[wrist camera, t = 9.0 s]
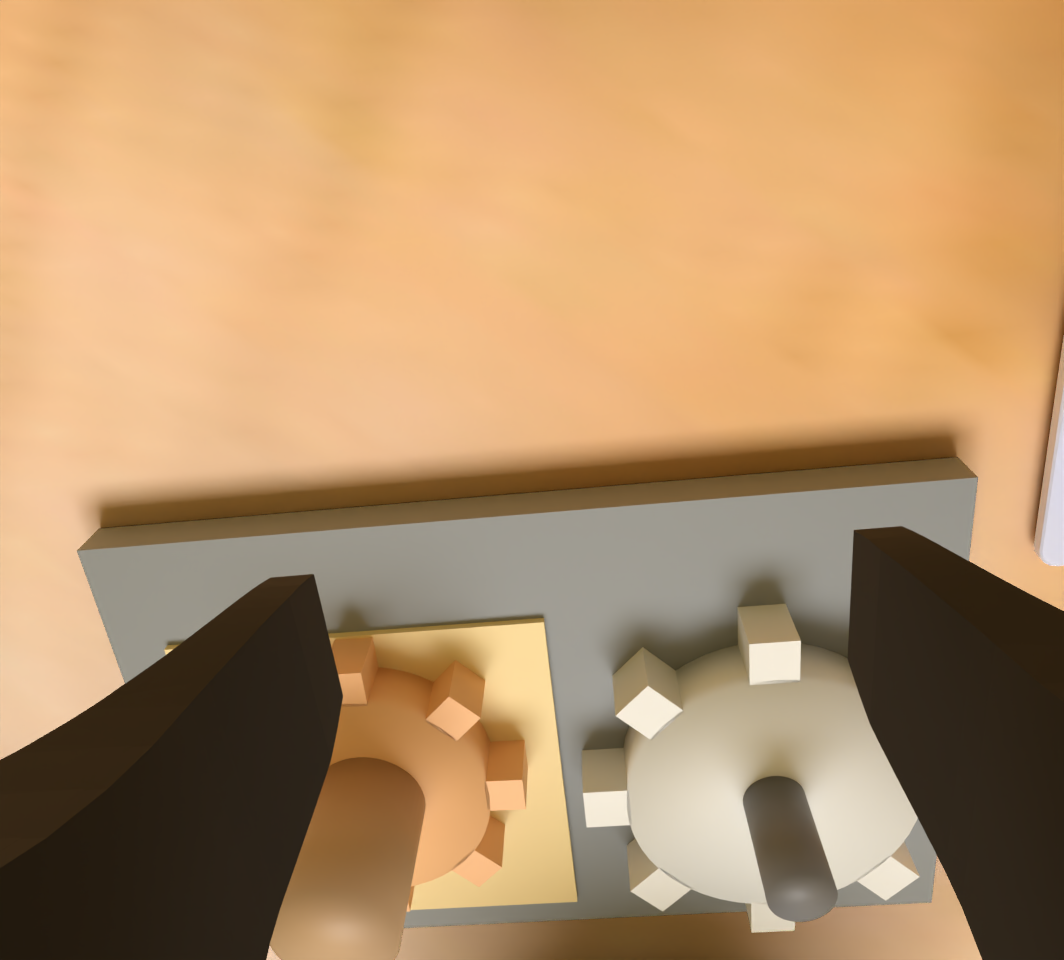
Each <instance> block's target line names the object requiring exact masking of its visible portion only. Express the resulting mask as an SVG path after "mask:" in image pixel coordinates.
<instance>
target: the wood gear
mask: <svg viewBox="0 0 1064 960" xmlns="http://www.w3.org/2000/svg"><path fill="white" fill-rule="evenodd" d="M332 651H333V655H334V659H335V664H336V668H337V672H338V676H339V680H340V684H341V689H342V693H343V700H342V706H341V711H340V717H339V723H338V729H337V734H336V739H335V744H334V748H333V753H332V758H331V762H330V765H329V768H328V771H327V774H326V778H325V781H324V783H323V786H322V789H321V792H320V795H319V798H318V801H317V804H316V807H315V810H314V813H313V816H312V819H311V822H310V825H309V827H308V830H307V833H306V836H305V839H304V842H303V845H302V848H301V850H300V853H299V856H298V859H297V862H296V865H295V868H294V871H293V873H292V876H291V879H290V882H289V885H288V888H287V891H286V894H285V896H284V899H283V902H282V905H281V908H280V911H279V915H278V918H277V921H276V925H275V928H274V931H273V935H272V938H271V941H270V946H271V948H272V950H273V951H274V952H275V954H276V955H277V956H278V957H279V958H280V959H281V960H394V959H395V958H396V956H397V954H398V952H399V948H400V944H401V939H402V933H403V928H404V922H405V917H406V912H410V909H411V904H412V898H413V893H414V887H415V885H419V884H422V883H426V882H429V881H432V880H434V879H436V878H439V877H441V876H443V875H445V874H447V873H448V872H450V871H454V872H455V873H457V874H459V875H460V876H462V877H463V878H465V879H467V880H468V881H470V882H472V883H473V884H475V885H476V886H478V887H480V886H481V885H482V884H483V883H485V882H486V881H487V880H488V879H489V878H490V877H491V876H493V875H494V874H495V873H496V872H497V871H498V870H500V869H501V868H502V861H503V847H504V834H505V825H504V824H503V823H501V822H500V821H498V820H497V819H495V818H493V817H492V816H490V811H497V810H519V809H526V797H527V777H528V765H527V756H526V748H525V740H515V741H495V742H490V740H489V738H488V735H487V733H486V731H485V729H484V727H483V726H482V724H481V722H480V721H479V719H480V718H481V712H482V704H483V696H484V688H485V680H484V679H483V678H481V677H480V676H478V675H477V674H475V673H474V672H472V671H471V670H470V669H468V668H467V667H465V666H464V665H462V664H461V663H459V662H458V661H456V660H455V661H454V662H453V663H452V664H451V665H450V666H449V667H448V668H447V669H446V670H445V671H444V672H443V673H442V674H441V675H440V676H439V677H438V678H437V679H436V680H435V681H434V682H432V681H430V680H428V679H425V678H423V677H421V676H418V675H415V674H411V673H408V672H405V671H400V670H395V669H390V668H381V667H378V662H377V657H376V652H375V646H374V641H373V637H370V638H352V639H335V640H334V642H333V645H332Z"/></svg>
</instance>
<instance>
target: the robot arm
mask: <svg viewBox="0 0 1064 960" xmlns="http://www.w3.org/2000/svg"><path fill="white" fill-rule="evenodd" d="M1034 551H1035V553H1036V554H1037V556H1038V557H1039V558H1040V559H1041V560H1042V561H1043V562H1044V563H1046V564H1048V565H1051V566H1064V337H1063V344H1062V351H1061V358H1060V365H1059V372H1058V379H1057V386H1056V393H1055V400H1054V407H1053V414H1052V421H1051V428H1050V435H1049V442H1048V449H1047V456H1046V463H1045V470H1044V477H1043V484H1042V491H1041V498H1040V505H1039V512H1038V519H1037V526H1036V533H1035V540H1034ZM848 662H849V665H850V668H851V671H852V674H853V677H854V681H855V684H856V687H857V690H858V693H859V696H860V698H861V701H862V704H863V707H864V709H865V712H866V715H867V718H868V720H869V723H870V725H871V727H872V729H873V732H874V734H875V736H876V738H877V740H878V742H879V744H880V746H881V748H882V750H883V751H884V753H885V755H886V757H887V759H888V761H889V763H890V765H891V767H892V769H893V771H894V773H895V775H896V777H897V779H898V781H899V783H900V785H901V787H902V789H903V791H904V792H905V794H906V796H907V798H908V800H909V802H910V804H911V806H912V808H913V810H914V812H915V814H916V816H917V818H918V819H919V821H920V823H921V825H922V827H923V829H924V831H925V833H926V835H927V837H928V839H929V841H930V843H931V845H932V846H933V848H934V850H935V852H936V854H937V856H938V858H939V860H940V862H941V864H942V866H943V868H944V870H945V872H946V874H947V876H948V878H949V880H950V882H951V885H952V887H953V889H954V891H955V893H956V895H957V898H958V900H959V902H960V904H961V906H962V909H963V911H964V914H965V916H966V919H967V921H968V924H969V926H970V929H971V932H972V934H973V937H974V939H975V942H976V944H977V947H978V949H979V952H980V955H981V957H982V960H1064V611H1062V610H1060V609H1058V608H1056V607H1054V606H1052V605H1050V604H1048V603H1046V602H1044V601H1042V600H1040V599H1038V598H1036V597H1034V596H1032V595H1030V594H1029V593H1027V592H1025V591H1023V590H1021V589H1019V588H1017V587H1015V586H1013V585H1012V584H1010V583H1008V582H1006V581H1004V580H1002V579H1000V578H999V577H997V576H995V575H993V574H991V573H989V572H988V571H986V570H984V569H982V568H980V567H978V566H977V565H975V564H973V563H971V562H970V561H968V560H966V559H964V558H962V557H961V556H959V555H957V554H955V553H953V552H952V551H950V550H948V549H946V548H944V547H943V546H941V545H939V544H937V543H935V542H933V541H931V540H930V539H928V538H926V537H924V536H922V535H920V534H918V533H916V532H914V531H912V530H910V529H907V528H905V527H903V526H896V527H883V528H871V529H859V530H854V534H853V555H852V575H851V596H850V617H849V638H848ZM342 700H343V693H342V689H341V684H340V680H339V676H338V672H337V668H336V664H335V659H334V655H333V651H332V647H331V643H330V639H329V635H328V630H327V626H326V622H325V618H324V614H323V610H322V605H321V601H320V597H319V593H318V589H317V585H316V581H315V576H314V574H307V575H295V576H283V577H271V578H269V579H267V580H266V581H264V582H262V583H261V584H259V585H258V586H256V587H255V588H253V589H252V590H250V591H249V592H248V593H246V594H245V595H244V596H242V597H241V598H240V599H238V600H237V601H236V602H234V603H233V604H232V605H230V606H229V607H228V608H226V609H225V610H224V611H223V612H221V613H220V614H219V615H217V616H216V617H215V618H214V619H212V620H211V621H210V622H208V623H207V624H206V625H204V626H203V627H202V628H201V629H199V630H198V631H197V632H195V633H194V634H193V635H191V636H190V637H189V638H187V639H186V640H185V641H184V642H182V643H181V644H180V645H178V646H177V647H176V648H174V649H173V650H172V651H170V652H169V653H168V654H166V655H165V656H164V657H162V658H161V659H160V660H158V661H157V662H155V663H154V664H152V665H151V666H150V667H148V668H147V669H145V670H144V671H143V672H141V673H140V674H138V675H137V676H135V677H134V678H133V679H131V680H130V681H128V682H127V683H126V684H124V685H123V686H121V687H120V688H118V689H117V690H116V691H114V692H113V693H111V694H110V695H108V696H107V697H106V698H104V699H103V700H101V701H100V702H98V703H97V704H95V705H94V706H92V707H90V708H89V709H87V710H86V711H84V712H83V713H81V714H79V715H78V716H76V717H75V718H73V719H71V720H70V721H68V722H67V723H65V724H63V725H62V726H60V727H58V728H56V729H55V730H53V731H51V732H50V733H48V734H46V735H44V736H43V737H41V738H39V739H38V740H36V741H34V742H33V743H31V744H29V745H27V746H26V747H24V748H22V749H20V750H18V751H17V752H15V753H13V754H11V755H9V756H7V757H5V758H3V759H1V760H0V960H266V958H267V953H268V949H269V945H270V941H271V938H272V935H273V931H274V928H275V925H276V921H277V918H278V915H279V911H280V908H281V905H282V902H283V899H284V896H285V894H286V891H287V888H288V885H289V882H290V879H291V876H292V873H293V871H294V868H295V865H296V862H297V859H298V856H299V853H300V850H301V848H302V845H303V842H304V839H305V836H306V833H307V830H308V827H309V825H310V822H311V819H312V816H313V813H314V810H315V807H316V804H317V801H318V798H319V795H320V792H321V789H322V786H323V783H324V781H325V778H326V774H327V771H328V768H329V765H330V762H331V758H332V753H333V748H334V744H335V739H336V734H337V729H338V723H339V717H340V711H341V706H342Z"/></svg>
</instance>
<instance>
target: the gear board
mask: <svg viewBox="0 0 1064 960" xmlns="http://www.w3.org/2000/svg"><path fill="white" fill-rule="evenodd" d="M977 482H978V477H977V476H976V475H975V474H974V473H973V472H972V471H971V470H970V469H969V468H968V467H967V466H966V465H965V464H964V463H963V462H962V461H961V460H960V459H959V458H958V457H953V458H941V459H929V460H917V461H905V462H893V463H881V464H869V465H857V466H844V467H832V468H820V469H808V470H796V471H784V472H772V473H760V474H748V475H736V476H724V477H712V478H700V479H688V480H676V481H664V482H652V483H640V484H628V485H616V486H604V487H592V488H580V489H568V490H556V491H544V492H532V493H520V494H508V495H496V496H484V497H472V498H460V499H448V500H436V501H424V502H412V503H400V504H388V505H376V506H364V507H352V508H340V509H328V510H315V511H303V512H291V513H279V514H267V515H255V516H243V517H231V518H219V519H207V520H195V521H183V522H171V523H159V524H147V525H135V526H123V527H111V528H99V529H98V530H97V531H96V532H95V533H94V534H93V535H92V536H91V537H90V538H89V539H88V540H87V541H86V542H85V543H84V544H83V545H82V546H81V547H80V548H79V549H78V550H77V552H78V555H79V558H80V561H81V563H82V566H83V569H84V572H85V574H86V577H87V580H88V583H89V585H90V588H91V591H92V594H93V596H94V599H95V602H96V605H97V607H98V610H99V613H100V616H101V618H102V621H103V624H104V627H105V630H106V632H107V635H108V638H109V641H110V643H111V646H112V649H113V652H114V654H115V657H116V660H117V663H118V665H119V668H120V671H121V674H122V676H123V679H124V682H125V684H126V683H127V682H128V681H130V680H131V679H133V678H134V677H135V676H137V675H138V674H140V673H141V672H143V671H144V670H145V669H147V668H148V667H150V666H151V665H152V664H154V663H155V662H157V661H158V660H160V659H161V658H162V657H164V656H165V655H166V654H168V653H169V652H170V651H172V650H173V649H174V648H176V647H177V646H178V645H180V644H181V643H182V642H184V641H185V640H186V639H187V638H189V637H190V636H191V635H193V634H194V633H195V632H197V631H198V630H199V629H201V628H202V627H203V626H204V625H206V624H207V623H208V622H210V621H211V620H212V619H214V618H215V617H216V616H217V615H219V614H220V613H221V612H223V611H224V610H225V609H226V608H228V607H229V606H230V605H232V604H233V603H234V602H236V601H237V600H238V599H240V598H241V597H242V596H244V595H245V594H246V593H248V592H249V591H250V590H252V589H253V588H255V587H256V586H258V585H259V584H261V583H262V582H264V581H266V580H267V579H269V578H271V577H283V576H295V575H307V574H314V576H315V581H316V585H317V589H318V593H319V597H320V601H321V605H322V610H323V614H324V618H325V622H326V626H327V630H328V635H329V639H330V643H331V647H332V645H333V642H334V640H335V639H352V638H370V637H373V641H374V646H375V652H376V657H377V662H378V667H381V668H390V669H395V670H400V671H405V672H408V673H411V674H415V675H418V676H421V677H423V678H425V679H428V680H430V681H432V682H434V681H435V680H436V679H437V678H438V677H439V676H440V675H441V674H442V673H443V672H444V671H445V670H446V669H447V668H448V667H449V666H450V665H451V664H452V663H453V662H454V661H455V660H456V661H458V662H459V663H461V664H462V665H464V666H465V667H467V668H468V669H470V670H471V671H472V672H474V673H475V674H477V675H478V676H480V677H481V678H483V679H484V680H485V688H484V696H483V704H482V712H481V718H480V719H479V721H480V722H481V724H482V726H483V727H484V729H485V731H486V733H487V735H488V738H489V740H490V742H495V741H515V740H525V748H526V756H527V765H528V777H527V797H526V809H519V810H497V811H490V816H492V817H493V818H495V819H497V820H498V821H500V822H501V823H503V824H504V825H505V834H504V847H503V861H502V868H501V869H500V870H498V871H497V872H496V873H495V874H494V875H493V876H491V877H490V878H489V879H488V880H487V881H486V882H485V883H483V884H482V885H481V886H480V887H478V886H476V885H475V884H473V883H472V882H470V881H468V880H467V879H465V878H463V877H462V876H460V875H459V874H457V873H455V872H454V871H450V872H448V873H447V874H445V875H443V876H441V877H439V878H436V879H434V880H432V881H429V882H426V883H422V884H419V885H415V887H414V893H413V898H412V904H411V909H410V912H406V917H405V922H404V928H413V927H434V926H455V925H475V924H496V923H517V922H538V921H558V920H579V919H600V918H620V917H641V916H662V915H682V914H703V913H724V912H745V911H747V914H748V919H749V923H750V928H751V933H755V932H777V931H795V922H805V921H811V920H814V919H817V918H820V917H822V916H824V915H825V914H827V913H828V912H829V911H830V910H831V909H832V908H833V907H848V906H869V905H889V904H910V903H931V902H932V893H933V884H934V874H935V865H936V856H937V854H936V852H935V850H934V848H933V846H932V845H931V843H930V841H929V839H928V837H927V835H926V833H925V831H924V829H923V827H922V825H921V823H920V821H919V819H918V818H917V816H916V814H915V812H914V810H913V808H912V806H911V804H910V802H909V800H908V798H907V796H906V794H905V792H904V791H903V789H902V787H901V785H900V783H899V781H898V779H897V777H896V775H895V773H894V771H893V769H892V767H891V765H890V763H889V761H888V759H887V757H886V755H885V753H884V751H883V750H882V748H881V746H880V744H879V742H878V740H877V738H876V736H875V734H874V732H873V729H872V727H871V725H870V723H869V720H868V718H867V715H866V712H865V709H864V707H863V704H862V701H861V698H860V696H859V693H858V690H857V687H856V684H855V681H854V677H853V674H852V671H851V668H850V665H849V662H848V638H849V617H850V596H851V575H852V555H853V534H854V530H859V529H871V528H883V527H896V526H903V527H905V528H907V529H910V530H912V531H914V532H916V533H918V534H920V535H922V536H924V537H926V538H928V539H930V540H931V541H933V542H935V543H937V544H939V545H941V546H943V547H944V548H946V549H948V550H950V551H952V552H953V553H955V554H957V555H959V556H961V557H962V558H964V559H966V560H968V561H969V555H970V546H971V537H972V527H973V518H974V509H975V500H976V491H977Z"/></svg>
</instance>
